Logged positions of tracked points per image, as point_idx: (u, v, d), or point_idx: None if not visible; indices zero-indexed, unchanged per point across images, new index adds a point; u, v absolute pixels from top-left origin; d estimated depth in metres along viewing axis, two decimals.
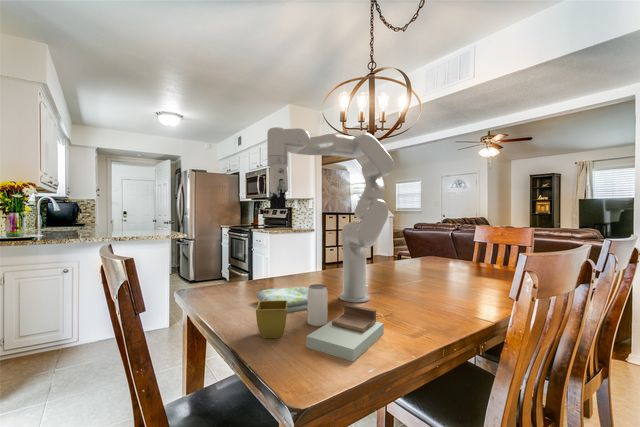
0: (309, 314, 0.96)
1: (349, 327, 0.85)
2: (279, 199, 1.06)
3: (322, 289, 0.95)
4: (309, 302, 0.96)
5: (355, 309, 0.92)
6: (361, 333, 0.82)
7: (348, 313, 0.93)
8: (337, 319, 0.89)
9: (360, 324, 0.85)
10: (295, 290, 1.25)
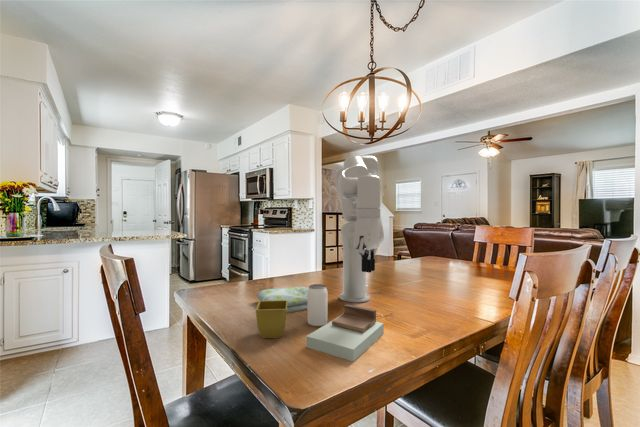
0: (309, 314, 0.96)
1: (349, 327, 0.85)
2: None
3: (322, 289, 0.95)
4: (309, 302, 0.96)
5: (355, 309, 0.92)
6: (361, 333, 0.82)
7: (348, 313, 0.93)
8: (337, 319, 0.89)
9: (360, 324, 0.85)
10: (295, 290, 1.25)
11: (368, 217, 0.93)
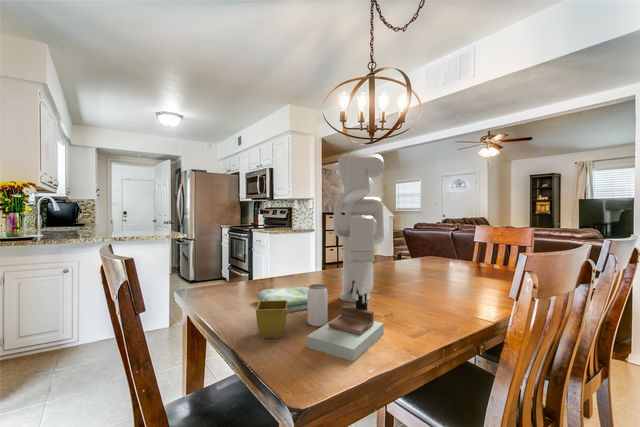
0: (309, 314, 0.96)
1: (346, 329, 0.83)
2: None
3: (322, 289, 0.95)
4: (309, 302, 0.96)
5: (352, 311, 0.90)
6: None
7: (345, 315, 0.92)
8: (334, 321, 0.88)
9: (357, 327, 0.83)
10: (295, 290, 1.25)
11: (361, 261, 0.89)
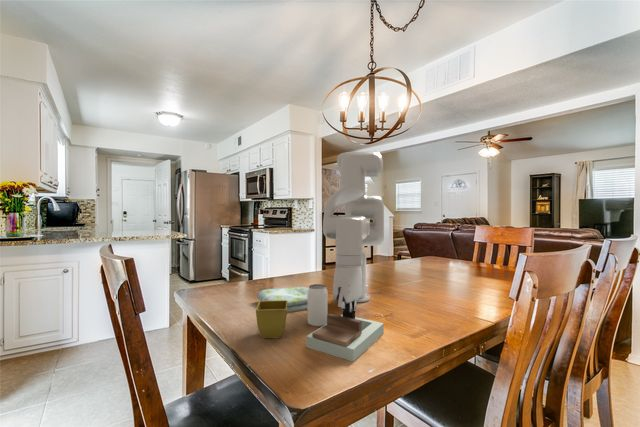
0: (309, 314, 0.96)
1: (331, 340, 0.76)
2: None
3: (322, 289, 0.95)
4: (309, 302, 0.96)
5: (339, 319, 0.83)
6: None
7: (331, 323, 0.85)
8: (318, 331, 0.81)
9: (343, 337, 0.77)
10: (295, 290, 1.25)
11: (348, 266, 0.82)
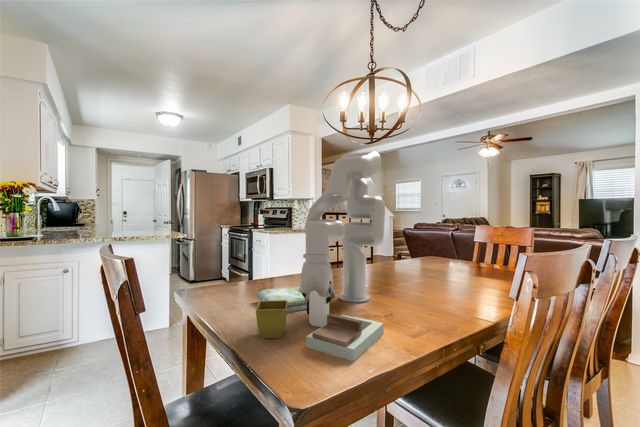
0: (311, 314, 0.95)
1: (331, 340, 0.76)
2: None
3: None
4: (311, 302, 0.95)
5: (339, 319, 0.83)
6: None
7: (331, 323, 0.85)
8: (318, 331, 0.81)
9: (343, 337, 0.77)
10: (295, 290, 1.25)
11: (328, 262, 0.97)
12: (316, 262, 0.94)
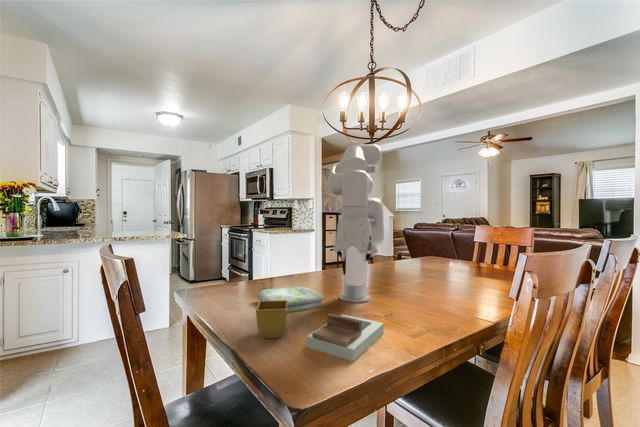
0: (348, 273, 0.86)
1: (331, 340, 0.76)
2: None
3: None
4: (348, 260, 0.86)
5: (339, 319, 0.83)
6: None
7: (331, 323, 0.85)
8: (318, 331, 0.81)
9: (343, 337, 0.77)
10: (296, 290, 1.25)
11: None
12: (355, 215, 0.85)
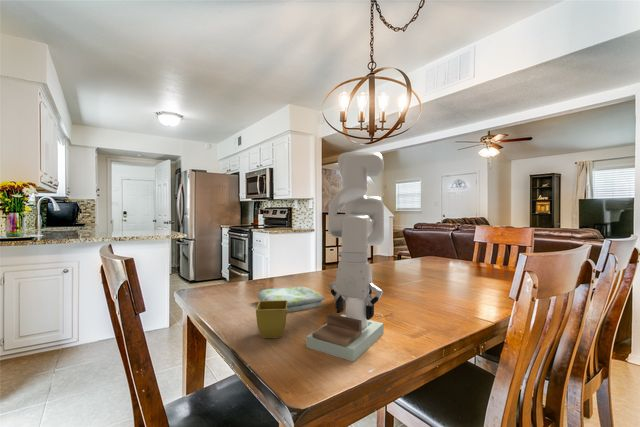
0: None
1: (331, 340, 0.76)
2: None
3: None
4: (348, 312, 0.87)
5: (339, 319, 0.83)
6: None
7: (331, 323, 0.85)
8: (318, 331, 0.81)
9: (343, 337, 0.77)
10: (296, 290, 1.25)
11: None
12: (355, 261, 0.85)
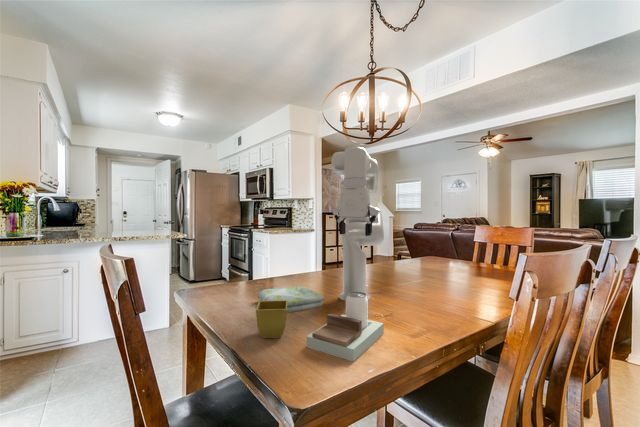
0: None
1: (331, 340, 0.76)
2: None
3: (363, 297, 0.86)
4: (348, 312, 0.87)
5: (339, 319, 0.83)
6: None
7: (331, 323, 0.85)
8: (318, 331, 0.81)
9: (343, 337, 0.77)
10: (296, 290, 1.25)
11: None
12: (355, 185, 0.98)
